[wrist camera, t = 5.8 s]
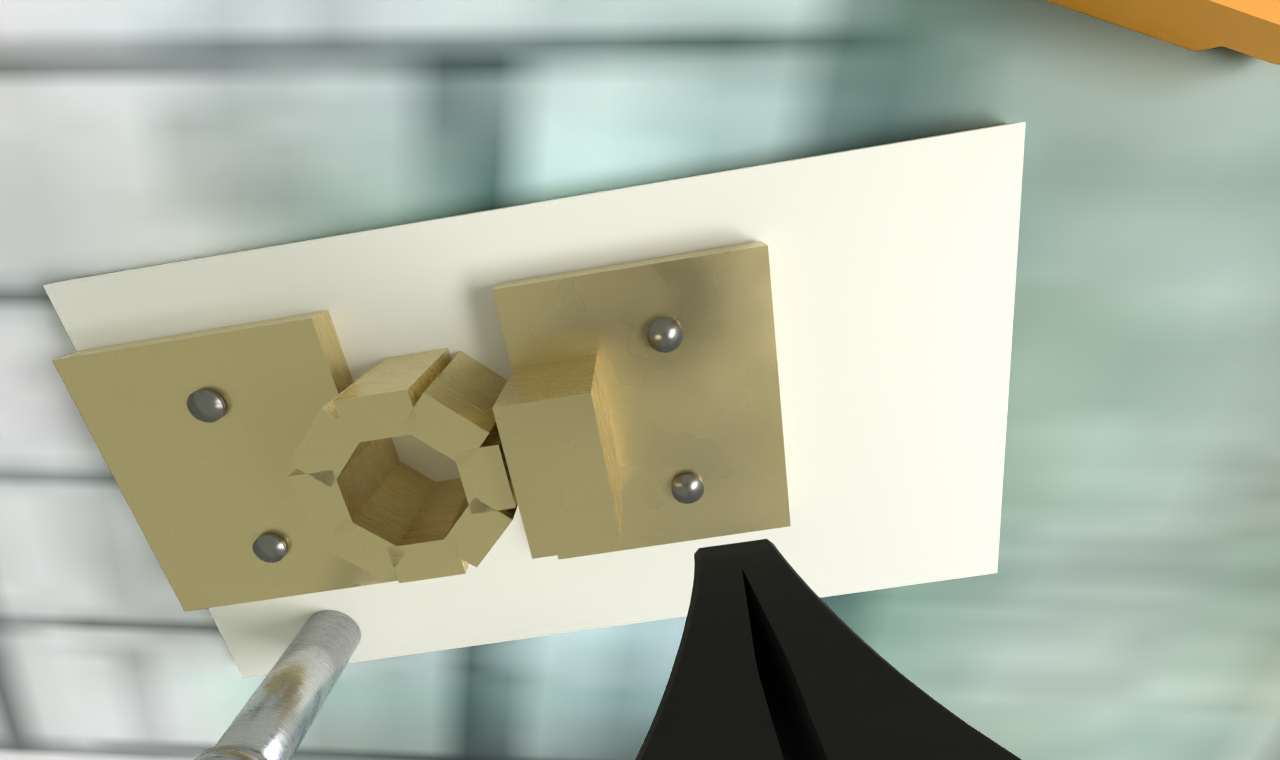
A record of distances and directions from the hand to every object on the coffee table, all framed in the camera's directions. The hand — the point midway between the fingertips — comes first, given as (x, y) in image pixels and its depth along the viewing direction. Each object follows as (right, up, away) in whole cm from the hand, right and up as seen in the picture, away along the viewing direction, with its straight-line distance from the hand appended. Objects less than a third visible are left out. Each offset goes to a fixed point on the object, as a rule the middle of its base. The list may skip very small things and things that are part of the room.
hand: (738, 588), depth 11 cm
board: (-4, +2, +9) cm, 10 cm away
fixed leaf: (-12, +1, +8) cm, 14 cm away
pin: (-13, -5, +11) cm, 18 cm away
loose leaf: (-1, +3, +8) cm, 9 cm away
